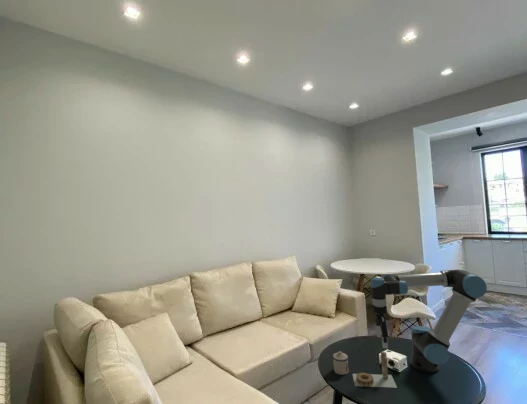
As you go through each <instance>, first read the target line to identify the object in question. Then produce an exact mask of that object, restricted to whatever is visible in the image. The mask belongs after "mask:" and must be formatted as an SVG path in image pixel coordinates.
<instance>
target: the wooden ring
mask: <svg viewBox="0 0 527 404" xmlns="http://www.w3.org/2000/svg"><path fill="white" fill-rule="evenodd" d="M356 374H357V375H356V380H357V383H358V384H359V385H362V386H361V387H365V386H367V387H368V386H372V385H373V384H374V380H373V376H372V375H370V374H371V373H368V372H358V373H356ZM365 379H366V380H365ZM368 388H369V387H368Z"/></svg>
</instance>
